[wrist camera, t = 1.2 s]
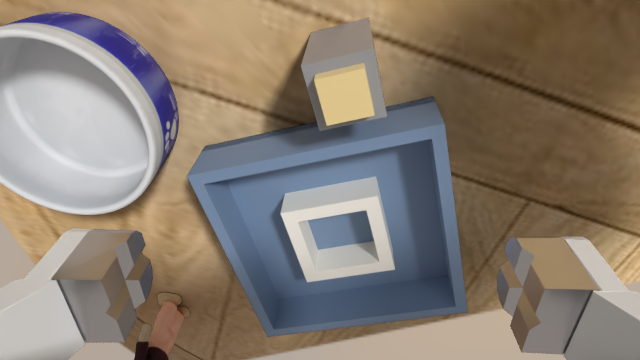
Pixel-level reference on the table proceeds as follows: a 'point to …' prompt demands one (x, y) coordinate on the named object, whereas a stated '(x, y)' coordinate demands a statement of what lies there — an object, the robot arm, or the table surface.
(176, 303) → the grandmother figurine
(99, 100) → the dog bowl
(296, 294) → the walled tray
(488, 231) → the table surface
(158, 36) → the table surface
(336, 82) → the connector plug
